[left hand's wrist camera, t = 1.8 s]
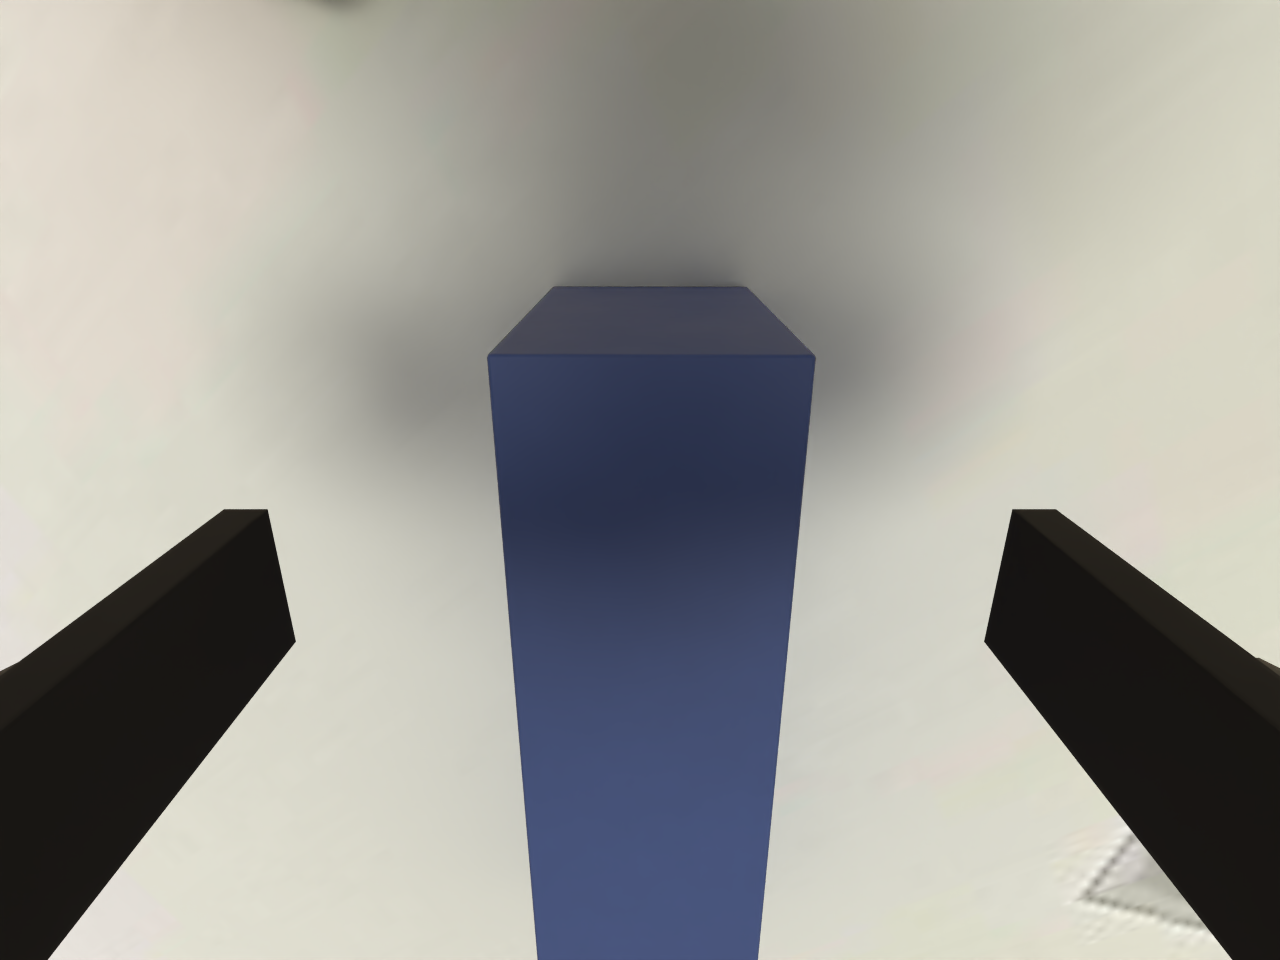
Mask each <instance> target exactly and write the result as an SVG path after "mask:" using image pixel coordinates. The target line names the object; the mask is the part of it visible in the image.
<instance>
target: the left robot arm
mask: <svg viewBox="0 0 1280 960" xmlns="http://www.w3.org/2000/svg"><path fill="white" fill-rule="evenodd" d="M295 642H296V640H295V636H294V631H293V626H292V622H291V617H290V612H289V608H288V603H287V598H286V594H285V589H284V584H283V579H282V575H281V570H280V565H279V561H278V556H277V551H276V547H275V542H274V537H273V533H272V528H271V523H270V519H269V514H268V509H224V510H223V511H221V512H220V513H219V514H217V515H216V516H215V517H213V518H212V519H210V520H209V521H208V522H206V523H205V524H204V525H202V526H201V527H200V528H198V529H197V530H196V531H194V532H193V533H192V534H190V535H189V536H188V537H186V538H185V539H184V540H182V541H181V542H180V543H178V544H177V545H176V546H174V547H173V548H171V549H170V550H169V551H167V552H166V553H165V554H163V555H162V556H161V557H159V558H158V559H157V560H155V561H154V562H153V563H151V564H150V565H149V566H147V567H146V568H145V569H143V570H142V571H141V572H139V573H138V574H137V575H135V576H134V577H132V578H131V579H130V580H128V581H127V582H126V583H124V584H123V585H122V586H120V587H119V588H118V589H116V590H115V591H114V592H112V593H111V594H110V595H108V596H107V597H106V598H104V599H103V600H102V601H100V602H99V603H98V604H96V605H95V606H93V607H92V608H91V609H89V610H88V611H87V612H85V613H84V614H83V615H81V616H80V617H79V618H77V619H76V620H75V621H73V622H72V623H71V624H69V625H68V626H67V627H65V628H64V629H63V630H61V631H60V632H59V633H57V634H56V635H54V636H53V637H52V638H50V639H49V640H48V641H46V642H45V643H44V644H42V645H41V646H40V647H38V648H37V649H36V650H34V651H33V652H32V653H30V654H29V655H28V656H26V657H25V658H24V659H22V660H21V661H20V662H18V663H16V664H14V665H12V666H10V667H8V668H6V669H4V670H2V671H0V960H48V959H49V957H50V956H51V955H52V954H53V952H54V951H55V950H56V948H57V947H58V946H59V945H60V943H61V942H62V941H63V939H64V938H65V937H66V936H67V934H68V933H69V932H70V930H71V929H72V928H73V927H74V925H75V924H76V923H77V921H78V920H79V919H80V918H81V916H82V915H83V914H84V913H85V911H86V910H87V909H88V907H89V906H90V905H91V904H92V902H93V901H94V900H95V898H96V897H97V896H98V895H99V893H100V892H101V891H102V889H103V888H104V887H105V886H106V884H107V883H108V882H109V880H110V879H111V878H112V877H113V875H114V874H115V873H116V871H117V870H118V869H119V868H120V866H121V865H122V864H123V862H124V861H125V860H126V859H127V857H128V856H129V855H130V854H131V852H132V851H133V850H134V848H135V847H136V846H137V845H138V843H139V842H140V841H141V839H142V838H143V837H144V836H145V834H146V833H147V832H148V830H149V829H150V828H151V827H152V825H153V824H154V823H155V821H156V820H157V819H158V818H159V816H160V815H161V814H162V812H163V811H164V810H165V809H166V807H167V806H168V805H169V803H170V802H171V801H172V800H173V798H174V797H175V796H176V795H177V793H178V792H179V791H180V789H181V788H182V787H183V786H184V784H185V783H186V782H187V780H188V779H189V778H190V777H191V775H192V774H193V773H194V771H195V770H196V769H197V768H198V766H199V765H200V764H201V762H202V761H203V760H204V759H205V757H206V756H207V755H208V753H209V752H210V751H211V750H212V748H213V747H214V746H215V745H216V743H217V742H218V741H219V739H220V738H221V737H222V736H223V734H224V733H225V732H226V730H227V729H228V728H229V727H230V725H231V724H232V723H233V721H234V720H235V719H236V718H237V716H238V715H239V714H240V712H241V711H242V710H243V709H244V707H245V706H246V705H247V703H248V702H249V701H250V700H251V698H252V697H253V696H254V694H255V693H256V692H257V691H258V689H259V688H260V687H261V686H262V684H263V683H264V682H265V680H266V679H267V678H268V677H269V675H270V674H271V673H272V671H273V670H274V669H275V668H276V666H277V665H278V664H279V662H280V661H281V660H282V659H283V657H284V656H285V655H286V653H287V652H288V651H289V650H290V648H291V647H292V646H293V644H294V643H295ZM984 642H985V643H986V644H987V646H988V647H989V648H990V650H991V651H992V652H993V653H994V655H995V656H996V657H997V659H998V660H999V661H1000V662H1001V664H1002V665H1003V666H1004V668H1005V669H1006V670H1007V671H1008V673H1009V674H1010V675H1011V677H1012V678H1013V679H1014V680H1015V682H1016V683H1017V684H1018V686H1019V687H1020V688H1021V689H1022V691H1023V692H1024V693H1025V694H1026V696H1027V697H1028V698H1029V700H1030V701H1031V702H1032V703H1033V705H1034V706H1035V707H1036V709H1037V710H1038V711H1039V712H1040V714H1041V715H1042V716H1043V718H1044V719H1045V720H1046V721H1047V723H1048V724H1049V725H1050V727H1051V728H1052V729H1053V730H1054V732H1055V733H1056V734H1057V736H1058V737H1059V738H1060V739H1061V741H1062V742H1063V743H1064V745H1065V746H1066V747H1067V748H1068V750H1069V751H1070V752H1071V753H1072V755H1073V756H1074V757H1075V759H1076V760H1077V761H1078V762H1079V764H1080V765H1081V766H1082V768H1083V769H1084V770H1085V771H1086V773H1087V774H1088V775H1089V777H1090V778H1091V779H1092V780H1093V782H1094V783H1095V784H1096V786H1097V787H1098V788H1099V789H1100V791H1101V792H1102V793H1103V795H1104V796H1105V797H1106V798H1107V800H1108V801H1109V802H1110V803H1111V805H1112V806H1113V807H1114V809H1115V810H1116V811H1117V812H1118V814H1119V815H1120V816H1121V818H1122V819H1123V820H1124V821H1125V823H1126V824H1127V825H1128V827H1129V828H1130V829H1131V830H1132V832H1133V833H1134V834H1135V836H1136V837H1137V838H1138V839H1139V841H1140V842H1141V843H1142V845H1143V846H1144V847H1145V848H1146V850H1147V851H1148V852H1149V854H1150V855H1151V856H1152V857H1153V859H1154V860H1155V861H1156V862H1157V864H1158V865H1159V866H1160V868H1161V869H1162V870H1163V871H1164V873H1165V874H1166V875H1167V877H1168V878H1169V879H1170V880H1171V882H1172V883H1173V884H1174V886H1175V887H1176V888H1177V889H1178V891H1179V892H1180V893H1181V895H1182V896H1183V897H1184V898H1185V900H1186V901H1187V902H1188V904H1189V905H1190V906H1191V907H1192V909H1193V910H1194V911H1195V913H1196V914H1197V915H1198V916H1199V918H1200V919H1201V920H1202V921H1203V923H1204V924H1205V925H1206V927H1207V928H1208V929H1209V930H1210V932H1211V933H1212V934H1213V936H1214V937H1215V938H1216V939H1217V941H1218V942H1219V943H1220V945H1221V946H1222V947H1223V948H1224V950H1225V951H1226V952H1227V954H1228V955H1229V956H1230V957H1231V959H1232V960H1280V668H1278V667H1276V666H1274V665H1272V664H1270V663H1268V662H1266V661H1264V660H1262V659H1260V658H1255V657H1254V656H1252V655H1251V654H1250V653H1248V652H1247V651H1246V650H1244V649H1243V648H1242V647H1240V646H1239V645H1238V644H1236V643H1235V642H1234V641H1232V640H1231V639H1230V638H1228V637H1227V636H1226V635H1224V634H1223V633H1221V632H1220V631H1219V630H1217V629H1216V628H1215V627H1213V626H1212V625H1211V624H1209V623H1208V622H1207V621H1205V620H1204V619H1203V618H1201V617H1200V616H1199V615H1197V614H1196V613H1195V612H1193V611H1192V610H1191V609H1189V608H1188V607H1187V606H1185V605H1184V604H1182V603H1181V602H1180V601H1178V600H1177V599H1176V598H1174V597H1173V596H1172V595H1170V594H1169V593H1168V592H1166V591H1165V590H1164V589H1162V588H1161V587H1160V586H1158V585H1157V584H1156V583H1154V582H1153V581H1152V580H1150V579H1149V578H1148V577H1146V576H1145V575H1143V574H1142V573H1141V572H1139V571H1138V570H1137V569H1135V568H1134V567H1133V566H1131V565H1130V564H1129V563H1127V562H1126V561H1125V560H1123V559H1122V558H1121V557H1119V556H1118V555H1117V554H1115V553H1114V552H1113V551H1111V550H1110V549H1109V548H1107V547H1106V546H1104V545H1103V544H1102V543H1100V542H1099V541H1098V540H1096V539H1095V538H1094V537H1092V536H1091V535H1090V534H1088V533H1087V532H1086V531H1084V530H1083V529H1082V528H1080V527H1079V526H1078V525H1076V524H1075V523H1074V522H1072V521H1071V520H1070V519H1068V518H1067V517H1065V516H1064V515H1063V514H1061V513H1060V512H1059V511H1057V510H1056V509H1012V514H1011V519H1010V523H1009V528H1008V533H1007V537H1006V542H1005V547H1004V551H1003V556H1002V561H1001V565H1000V570H999V575H998V579H997V584H996V589H995V594H994V598H993V603H992V608H991V612H990V617H989V622H988V626H987V631H986V636H985V640H984Z"/></svg>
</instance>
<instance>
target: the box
mask: <svg viewBox="0 0 1280 960" xmlns="http://www.w3.org/2000/svg"><path fill="white" fill-rule="evenodd" d="M815 360H816V358H815V355H814V354H813V353H812V352H811V351H810V350H809V349H808V348H807V347H806V346H805V345H804V344H803V343H802V342H801V341H800V340H799V339H798V338H797V337H796V336H795V335H794V334H793V333H792V332H791V331H790V330H789V329H788V328H787V327H786V326H785V325H784V324H783V323H782V322H781V321H780V320H779V319H778V318H777V317H776V316H775V315H774V314H773V313H772V312H771V311H770V310H769V309H768V308H767V307H766V306H765V305H764V304H763V303H762V302H761V301H760V300H759V299H758V298H757V297H756V296H755V295H754V294H753V293H752V292H751V291H750V290H749V289H748V288H747V287H553V288H552V289H551V290H550V291H549V292H548V293H547V294H546V295H545V296H544V297H543V298H542V299H541V300H540V301H539V302H538V303H537V304H536V306H535V307H534V308H533V309H532V310H531V311H530V312H529V313H528V314H527V315H526V316H525V317H524V318H523V319H522V320H521V321H520V322H519V323H518V324H517V325H516V326H515V327H514V328H513V329H512V330H511V332H510V333H509V334H508V335H507V336H506V337H505V338H504V339H503V340H502V341H501V342H500V343H499V344H498V345H497V346H496V347H495V348H494V349H493V350H492V351H491V352H490V353H489V354H488V357H487V361H488V373H489V385H490V396H491V408H492V420H493V432H494V444H495V456H496V468H497V480H498V492H499V504H500V516H501V528H502V540H503V552H504V564H505V576H506V588H507V600H508V612H509V623H510V635H511V647H512V659H513V671H514V683H515V695H516V707H517V719H518V731H519V743H520V755H521V767H522V779H523V791H524V803H525V815H526V827H527V839H528V850H529V862H530V874H531V886H532V898H533V910H534V922H535V934H536V946H537V958H538V960H758V952H759V942H760V932H761V921H762V911H763V900H764V890H765V880H766V869H767V859H768V848H769V838H770V828H771V817H772V807H773V796H774V786H775V776H776V765H777V755H778V745H779V734H780V724H781V713H782V703H783V693H784V682H785V672H786V661H787V651H788V641H789V630H790V620H791V609H792V599H793V589H794V578H795V568H796V557H797V547H798V537H799V526H800V516H801V505H802V495H803V485H804V474H805V464H806V453H807V443H808V433H809V422H810V412H811V401H812V391H813V381H814V370H815Z"/></svg>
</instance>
